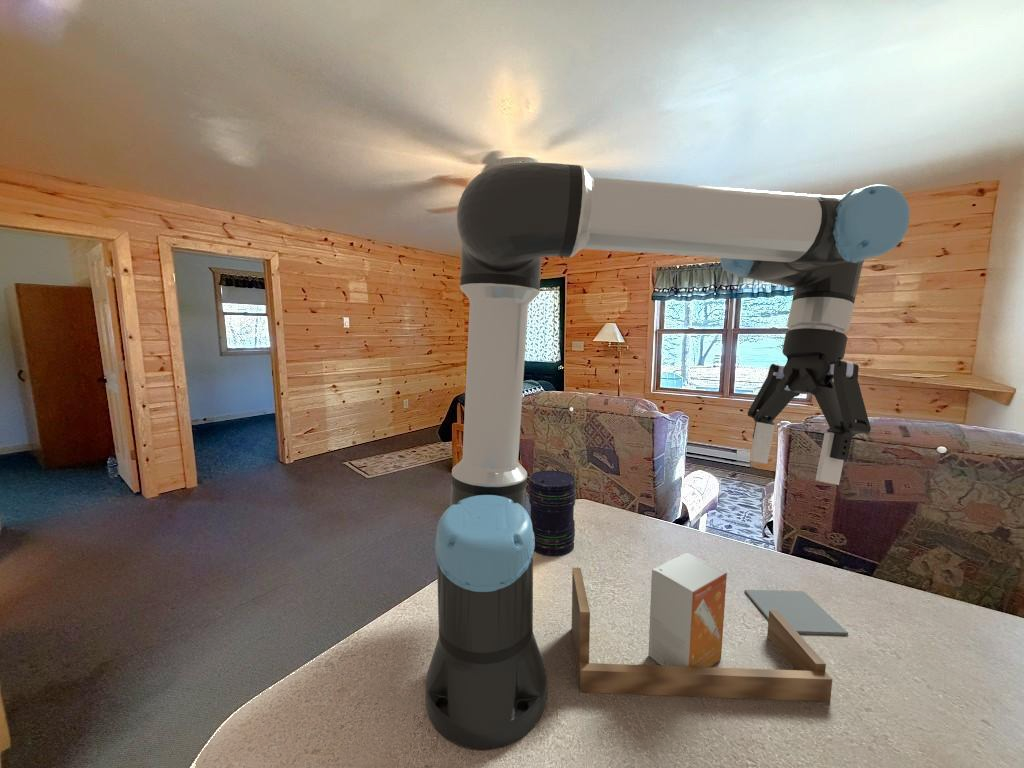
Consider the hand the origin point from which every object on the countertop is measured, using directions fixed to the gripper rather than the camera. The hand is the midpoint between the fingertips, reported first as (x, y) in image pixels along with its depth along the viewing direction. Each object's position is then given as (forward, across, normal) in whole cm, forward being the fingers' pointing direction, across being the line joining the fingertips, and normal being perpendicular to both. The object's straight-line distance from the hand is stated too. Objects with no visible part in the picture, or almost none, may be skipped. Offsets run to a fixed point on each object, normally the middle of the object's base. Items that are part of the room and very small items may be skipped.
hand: (788, 471), depth 61 cm
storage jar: (+28, +29, +26) cm, 48 cm away
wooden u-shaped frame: (+28, -3, +12) cm, 31 cm away
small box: (+28, -3, +12) cm, 31 cm away
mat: (+23, +5, -9) cm, 25 cm away
